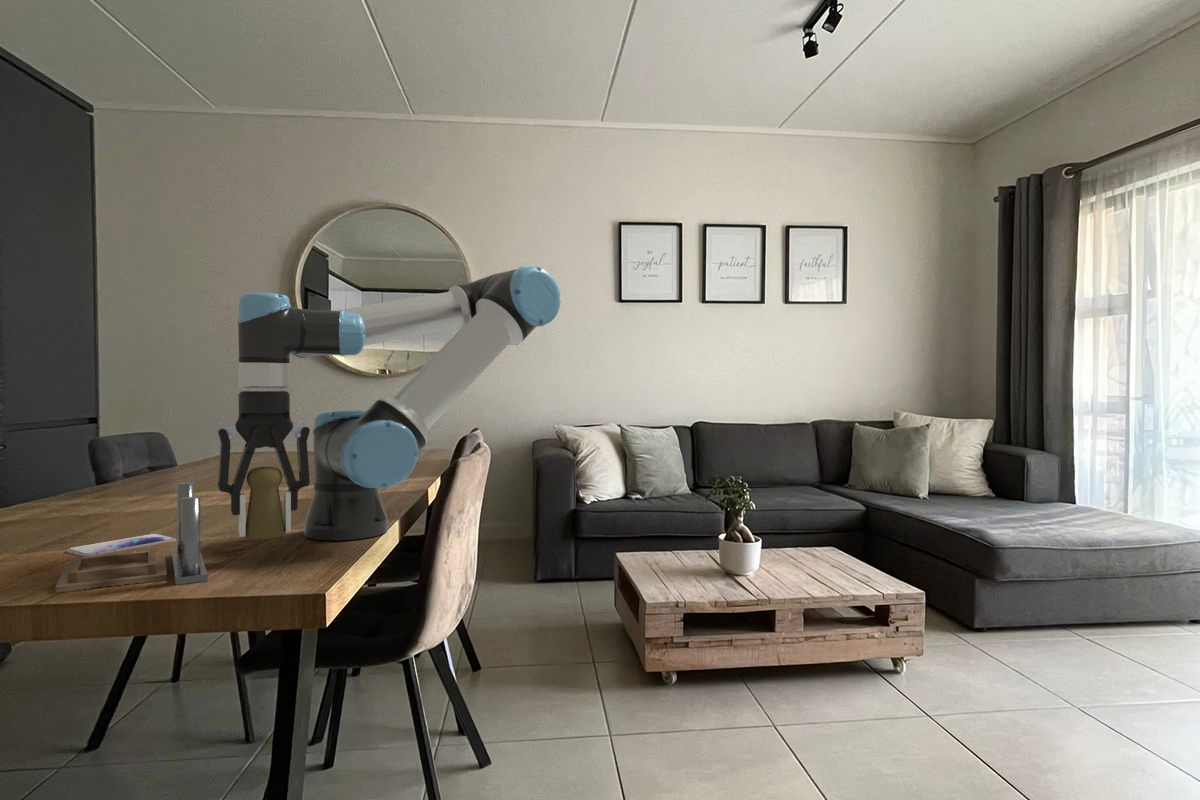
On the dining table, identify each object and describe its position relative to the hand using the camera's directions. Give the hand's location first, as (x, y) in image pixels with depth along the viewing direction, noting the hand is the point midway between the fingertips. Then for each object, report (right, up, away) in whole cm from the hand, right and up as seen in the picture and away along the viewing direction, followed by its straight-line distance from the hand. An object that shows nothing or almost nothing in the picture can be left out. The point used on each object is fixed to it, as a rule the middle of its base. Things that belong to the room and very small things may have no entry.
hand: (264, 532), depth 119 cm
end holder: (-17, -4, -11) cm, 21 cm away
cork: (0, -1, 0) cm, 1 cm away
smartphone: (-29, -5, +9) cm, 31 cm away
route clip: (-9, -4, -6) cm, 12 cm away
